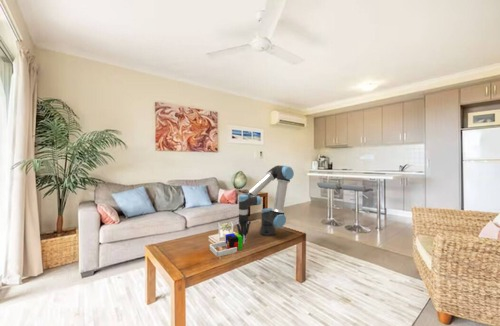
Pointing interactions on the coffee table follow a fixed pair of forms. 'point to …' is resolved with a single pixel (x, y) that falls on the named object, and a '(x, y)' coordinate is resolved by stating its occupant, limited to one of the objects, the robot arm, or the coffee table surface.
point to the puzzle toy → (234, 241)
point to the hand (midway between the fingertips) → (243, 242)
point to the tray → (223, 252)
